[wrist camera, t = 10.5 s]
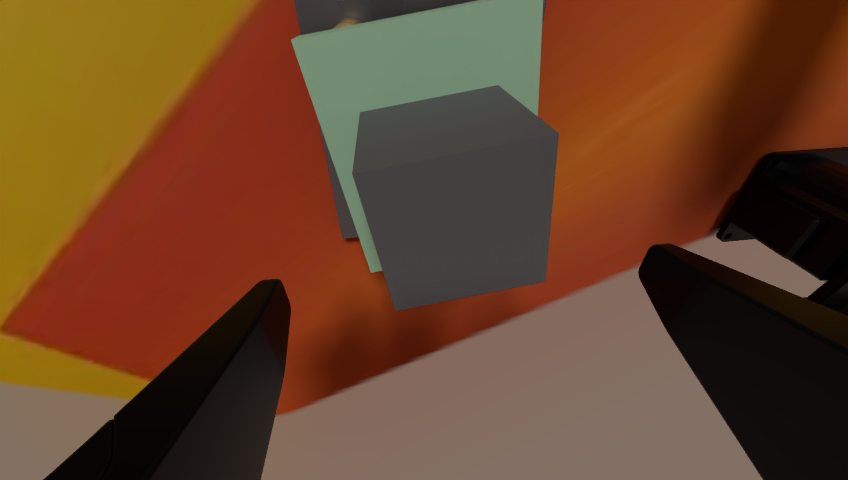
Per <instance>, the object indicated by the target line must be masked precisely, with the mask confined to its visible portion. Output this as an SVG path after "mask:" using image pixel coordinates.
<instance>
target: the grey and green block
mask: <svg viewBox="0 0 848 480" xmlns="http://www.w3.org/2000/svg"><path fill="white" fill-rule="evenodd" d="M542 17H543V0H477V1H472V2H467V3H462V4H457V5H452V6H447V7H442V8H437V9H432V10H427V11H422V12H416V13H411V14H406V15H401V16H396V17H391V18H386V19H381V20H376V21H371V22H366V23H361V24H356V25H351V26H346V27H340V28H335V29H330V30H325V31H320V32H315V33H310V34H305V35H300V36H297V37H295V38H294V39H292V40H291V42H292V45H293V48H294V50H295V53H296V56H297V59H298V62H299V65H300V68H301V71H302V74H303V77H304V79H305V82H306V85H307V88H308V91H309V94H310V97H311V100H312V103H313V106H314V108H315V111H316V114H317V117H318V120H319V123H320V126H321V129H322V132H323V135H324V138H325V140H326V143H327V146H328V149H329V152H330V155H331V158H332V161H333V164H334V167H335V169H336V172H337V175H338V178H339V181H340V184H341V187H342V190H343V193H344V196H345V198H346V201H347V204H348V207H349V210H350V213H351V216H352V219H353V222H354V225H355V227H356V230H357V233H358V236H359V239H360V242H361V245H362V248H363V251H364V254H365V257H366V259H367V262H368V265H369V268H370V271H371V273H372V272H377V271H382V270H383V274H384V277H385V280H386V283H387V286H388V290H389V293H390V296H391V299H392V302H393V305H394V309H395V311H399V310H404V309H409V308H415V307H420V306H425V305H430V304H435V303H440V302H445V301H451V300H456V299H461V298H466V297H471V296H476V295H481V294H487V293H492V292H497V291H502V290H507V289H512V288H517V287H522V286H528V285H533V284H538V283H543V282H546V270H547V259H548V248H549V237H550V225H551V214H552V203H553V192H554V180H555V169H556V158H557V147H558V135H559V133H558V132H556V131H555V130H554V129H553V128H551V127H550V126H549V125H548V124H546V123H545V122H544V121H543V120H541V119H540V118H539V117H538V99H539V78H540V58H541V37H542Z"/></svg>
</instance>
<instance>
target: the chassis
mask: <svg viewBox="0 0 848 480" xmlns="http://www.w3.org/2000/svg"><path fill="white" fill-rule="evenodd" d="M472 1H477V0H294V2H295V7H296V12H297V17H298V22H299V27H300V32H301V35H305V34H310V33H315V32H320V31H325V30H330V29H335V28H340V27H346V26H351V25H356V24H361V23H366V22H371V21H376V20H381V19H386V18H391V17H396V16H401V15H406V14H411V13H416V12H422V11H427V10H432V9H437V8H442V7H447V6H452V5H457V4H462V3H467V2H472ZM545 6H546V0H543V17H542V24H543V18H544V12H545ZM318 121H319V120H318ZM319 125H320V123H319ZM320 130H321V135H322V140H323V145H324V150H325V155H326V160H327V165H328V170H329V175H330V180H331V185H332V190H333V195H334V200H335V204H336V209H337V214H338V219H339V224H340V229H341V234H342V239H344V238H356V237H359V236H358V233H357V230H356V227H355V225H354V222H353V219H352V216H351V213H350V210H349V207H348V204H347V201H346V198H345V196H344V193H343V190H342V187H341V184H340V181H339V178H338V175H337V172H336V169H335V167H334V164H333V161H332V158H331V155H330V152H329V149H328V146H327V143H326V140H325V138H324V135H323V132H322V129H321V126H320Z"/></svg>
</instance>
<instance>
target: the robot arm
mask: <svg viewBox="0 0 848 480" xmlns="http://www.w3.org/2000/svg"><path fill="white" fill-rule="evenodd" d="M716 237H717V238H718V239H720V240H721V241H723V242H727V241H738V240H749V239H757V240H758V241H759V242H761V243H763V244H764V245H766V246H767V247H769V248H770V249H772V250H773V251H775V252H776V253H778V254H779V255H781V256H782V257H784V258H786V259H789V260H790V261H791V262H793V263H795V264H796V265H798V266H799V267H801V268H802V269H804V270H805V271H807V272H808V273H810V274H811V275H813V276H814V277H816V278H818V279H819V280H823V281H825V283H824V284H823V285H822V286H821V287H819V288H818V289H817V290H816V291H814V292H813V293H812V294H811V295H810V296H808V297H807V298H806V297H805V298H802V297H800V296H797V295H795V294H792V293H790V292H787V291H785V290H783V289H780V288H778V287H775V286H773V285H770V284H768V283H765V282H763V281H761V280H758V279H756V278H753V277H751V276H748V275H746V274H744V273H741V272H738V271H736V270H734V269H731V268H729V267H726V266H724V265H722V264H719V263H717V262H714V261H712V260H709V259H707V258H704V257H702V256H700V255H697V254H694V253H692V252H690V251H687V250H685V249H683V248H680V247H678V246H675V245H673V244H656V245H652V246H651V247H650V248H649V249H648V251H647V253H646V255H645V257H644V259H643V262H642V264H641V266H640V268H639V272H638V273H639V278H640V280H641V282H642V284H643V286H644V288H645V290H646V292H647V294H648V296H649V298H650V300H651V302H652V304H653V306H654V308H655V310H656V311H657V313H658V315H659V317H660V319H661V321H662V323H663V325H664V327H665V328H666V330H667V332H668V334H669V335H670V337H671V338H672V340H673V341H674V343H675V345H676V346H677V348H678V349H679V351H680V352H681V354H682V356H683V357H684V358H685V360H686V361H687V363H688V365H689V366H690V368H691V369H692V371H693V372H694V374H695V376H696V377H697V379H698V380H699V382H700V383H701V385H702V386H703V388H704V389H705V391H706V393H707V394H708V396H709V397H710V399H711V400H712V402H713V403H714V405H715V406H716V408H717V409H718V411H719V412H720V414H721V415H722V417H723V419H724V420H725V422H726V423H727V425H728V426H729V428H730V429H731V431H732V433H733V434H734V436H735V437H736V439H737V440H738V442H739V443H740V445H741V446H742V448H743V450H744V451H745V453H746V454H747V456H748V457H749V459H750V460H751V462H752V463H753V465H754V466H755V468H756V470H757V471H758V473H759V474H760V476H761V477H762V479H763V480H848V147H841V148H827V149H812V150H797V151H782V152H773V153H770V154H768V155H767V156H766V157H764V159H763V160H762V161H761V163H760V165H759V166H758V168H757V170H756V171H755V173H754V174H753V176H752V178H751V179H750V181H749V182H748V184H747V186H746V187H745V189H744V191H743V192H742V194H741V195H740V197H739V199H738V200H737V202H736V204H735V205H734V207H733V208H732V210H731V212H730V213H729V215H728V216H727V218H726V220H725V221H724V223H723V225H722V226H721V228H720V229H719V231H718V233H717V235H716ZM290 316H291V306H290V302H289V299H288V297H287V294H286V291H285V289H284V286H283V283H282V282H281V280H279V279H270V280H262V281H260V282H259V283H257V284H256V285H255V286H254V287H253V288H252V289H251V290H250V291H249V292H248V293H246V294H245V295H244V296H243V297H242V298H241V299H240V300H239V301H238V302H237V303H236V304H235V305H233V306H232V307H231V308H230V309H229V310H228V311H227V312H226V313H225V314H224V315H223V316H222V317H221V318H219V319H218V320H217V321H216V322H215V323H214V324H213V325H212V326H211V327H210V328H209V329H208V330H206V331H205V332H204V333H203V334H202V335H201V336H200V337H199V338H198V339H197V340H196V341H195V342H193V343H192V344H191V345H190V346H189V347H188V348H187V349H186V350H185V351H184V352H183V353H182V354H180V355H179V356H178V357H177V358H176V359H175V360H174V361H173V362H172V363H171V364H170V365H169V366H167V367H166V368H165V369H164V370H163V371H162V372H161V373H160V374H159V375H158V376H157V377H156V378H155V379H153V380H152V381H151V382H150V383H149V384H148V385H147V386H146V387H145V388H144V389H143V390H142V391H140V392H139V393H138V394H137V395H136V396H135V397H134V398H133V399H132V400H131V401H130V402H129V403H127V404H126V405H125V406H124V407H123V408H122V409H121V410H120V411H119V412H118V413H117V414H116V415H115V416H114V420H109V421H108V422H107V423H106V424H105V425H104V426H102V427H101V428H100V429H99V430H98V431H97V432H96V433H95V434H94V435H93V436H92V437H90V438H89V439H88V440H87V441H86V442H85V443H84V444H83V445H82V446H81V447H79V448H78V449H77V450H76V451H75V452H74V453H73V454H72V455H70V457H68V458H67V459H66V460H65V461H64V462H63V463H62V464H60V465H59V466H58V467H57V468H56V469H55V470H54V471H53V472H52V473H50V474H49V475H48V476H47V477H46V478H45V479H43V480H261V475H262V471H263V466H264V462H265V458H266V454H267V449H268V445H269V440H270V436H271V431H272V427H273V423H274V418H275V414H276V410H277V405H278V401H279V396H280V392H281V388H282V383H283V378H284V372H285V364H286V354H287V345H288V335H289V326H290Z"/></svg>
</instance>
